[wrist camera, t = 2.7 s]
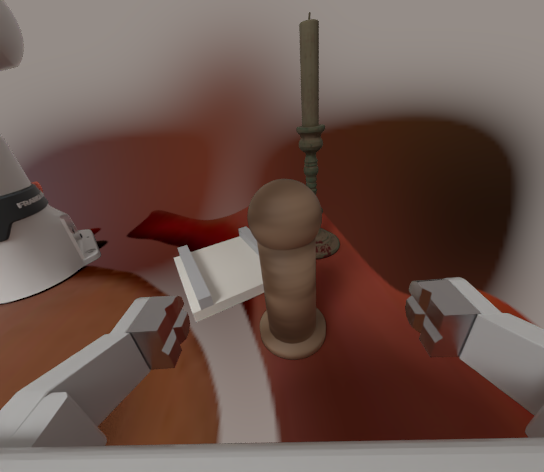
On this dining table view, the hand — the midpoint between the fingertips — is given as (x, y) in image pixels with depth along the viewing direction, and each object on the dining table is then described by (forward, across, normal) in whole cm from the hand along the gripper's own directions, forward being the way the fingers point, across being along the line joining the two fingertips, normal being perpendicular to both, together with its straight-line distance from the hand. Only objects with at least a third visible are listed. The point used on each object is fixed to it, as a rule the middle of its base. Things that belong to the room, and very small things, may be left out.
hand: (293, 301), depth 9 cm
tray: (+23, +9, +15) cm, 29 cm away
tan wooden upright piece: (+12, 0, +15) cm, 19 cm away
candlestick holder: (+29, -4, +15) cm, 33 cm away
